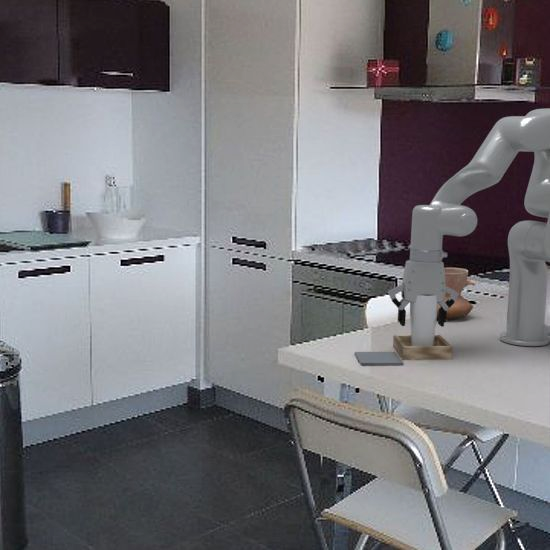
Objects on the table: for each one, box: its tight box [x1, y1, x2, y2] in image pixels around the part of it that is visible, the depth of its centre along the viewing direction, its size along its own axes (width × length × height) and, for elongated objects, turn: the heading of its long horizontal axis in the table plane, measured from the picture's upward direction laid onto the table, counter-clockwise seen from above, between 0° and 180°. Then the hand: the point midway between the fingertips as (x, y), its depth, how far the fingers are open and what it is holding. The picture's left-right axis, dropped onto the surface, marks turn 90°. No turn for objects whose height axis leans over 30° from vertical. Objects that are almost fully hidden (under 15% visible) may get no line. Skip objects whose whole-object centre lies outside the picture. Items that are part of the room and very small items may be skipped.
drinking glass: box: [409, 295, 438, 346], centre depth 208 cm, size 7×7×15 cm
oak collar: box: [392, 334, 454, 360], centre depth 209 cm, size 12×12×3 cm
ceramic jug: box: [437, 267, 477, 321], centre depth 249 cm, size 18×14×14 cm
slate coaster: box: [354, 351, 405, 367], centre depth 203 cm, size 10×10×1 cm
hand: (421, 325), depth 208 cm, fingers open, 9 cm apart
